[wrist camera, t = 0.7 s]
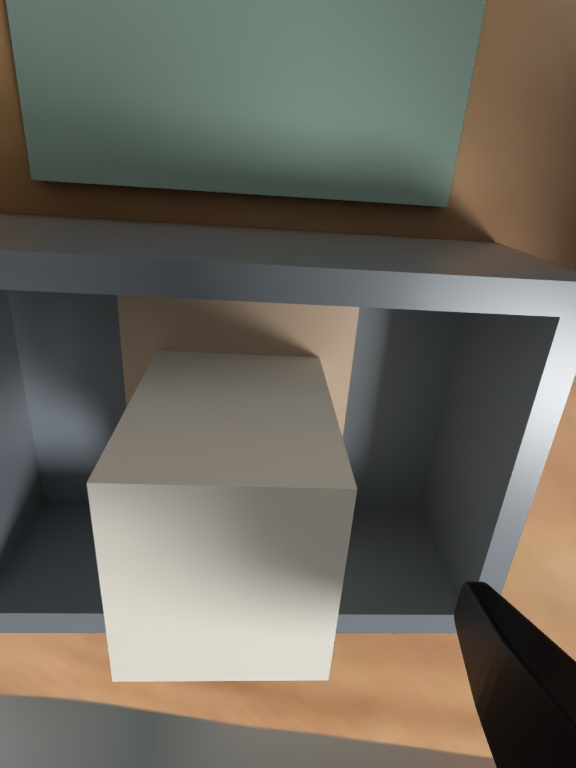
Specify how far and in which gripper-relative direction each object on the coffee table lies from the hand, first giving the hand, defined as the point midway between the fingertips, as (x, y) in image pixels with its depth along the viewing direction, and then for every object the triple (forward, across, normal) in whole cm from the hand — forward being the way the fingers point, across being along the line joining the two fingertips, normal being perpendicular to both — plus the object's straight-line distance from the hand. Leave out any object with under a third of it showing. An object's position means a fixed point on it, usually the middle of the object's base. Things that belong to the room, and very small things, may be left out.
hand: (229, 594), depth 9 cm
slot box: (+9, 0, 0) cm, 9 cm away
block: (+6, 0, 0) cm, 6 cm away
